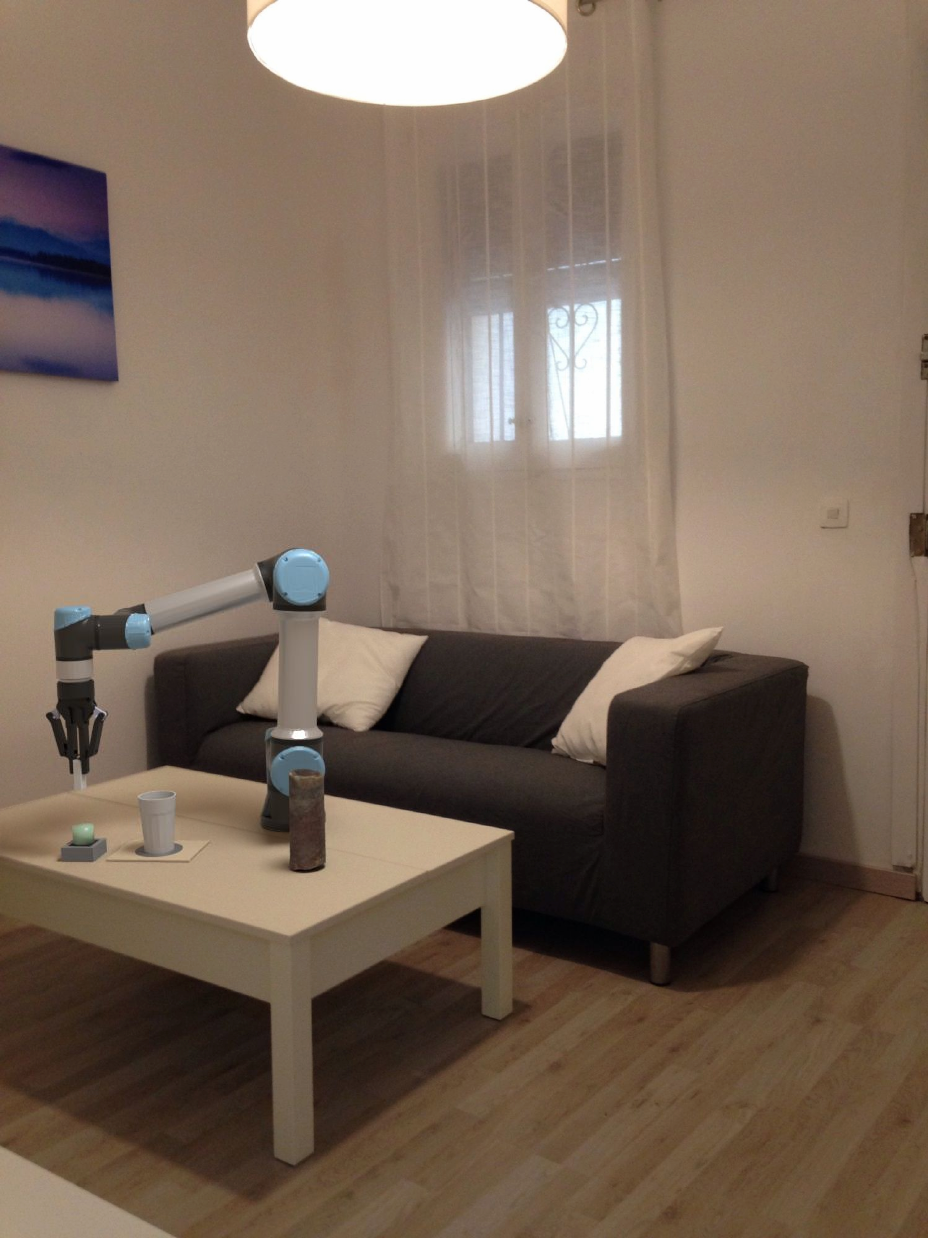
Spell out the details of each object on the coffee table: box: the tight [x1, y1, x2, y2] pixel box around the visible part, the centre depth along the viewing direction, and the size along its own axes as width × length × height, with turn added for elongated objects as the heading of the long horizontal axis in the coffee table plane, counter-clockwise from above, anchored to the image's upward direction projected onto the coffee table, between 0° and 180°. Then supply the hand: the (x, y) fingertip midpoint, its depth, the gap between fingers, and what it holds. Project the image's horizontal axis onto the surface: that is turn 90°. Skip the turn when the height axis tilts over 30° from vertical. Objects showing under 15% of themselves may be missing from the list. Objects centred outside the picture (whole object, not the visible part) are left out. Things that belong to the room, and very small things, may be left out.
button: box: [71, 822, 95, 845], centre depth 239 cm, size 4×4×4 cm
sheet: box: [105, 839, 211, 863], centre depth 242 cm, size 18×14×1 cm
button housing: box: [60, 837, 108, 863], centre depth 239 cm, size 7×7×3 cm
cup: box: [137, 790, 177, 854], centre depth 241 cm, size 8×8×12 cm
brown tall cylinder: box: [289, 769, 327, 871], centre depth 229 cm, size 8×7×20 cm
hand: (80, 788), depth 238 cm, fingers closed
